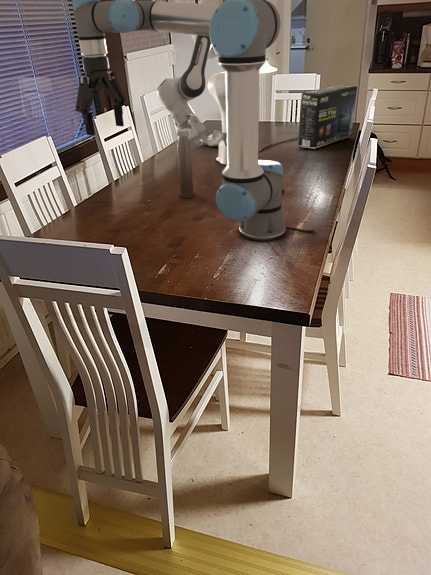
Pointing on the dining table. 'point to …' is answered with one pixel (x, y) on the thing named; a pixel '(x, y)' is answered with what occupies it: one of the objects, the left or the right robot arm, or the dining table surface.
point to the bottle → (185, 167)
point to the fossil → (213, 138)
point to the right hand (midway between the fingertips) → (106, 130)
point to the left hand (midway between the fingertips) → (204, 144)
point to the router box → (326, 115)
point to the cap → (182, 132)
